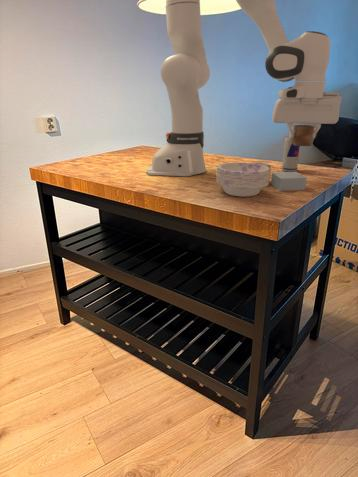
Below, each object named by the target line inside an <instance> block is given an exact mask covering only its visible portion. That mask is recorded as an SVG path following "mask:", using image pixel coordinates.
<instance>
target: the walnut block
mask: <svg viewBox="0 0 358 477" xmlns="http://www.w3.org/2000/svg"><path fill="white" fill-rule="evenodd" d="M292 128H293V129H292V131H293V132H295V133H296V134H295V138H292V143H291V144H293V145H295V146H300V147H311V146H312V143H313V138H312V137H313V131H314V129H315V127H314V125H311V124H293V127H292Z"/></svg>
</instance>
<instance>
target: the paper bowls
mask: <svg viewBox="0 0 358 477" xmlns="http://www.w3.org/2000/svg"><path fill="white" fill-rule="evenodd" d="M254 163H255V162H226V163H221V164H219V165H217V166H216V181H215V182H216V184H218V185H220V186H222V187H221V188H222V189H223V191H224V193H225V194H227V195H229V196H234V197H240V198H241V197H242V198H247V197H253V196H256V195H258V194H259V193H260V192H261V190H262V189H264V188H266V187H268V186H269V183H270V181H269V173H270V174H271V169H269V167H267V166H265V165H261V164H254ZM269 170H270V172H269ZM268 182H269V183H268Z"/></svg>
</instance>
